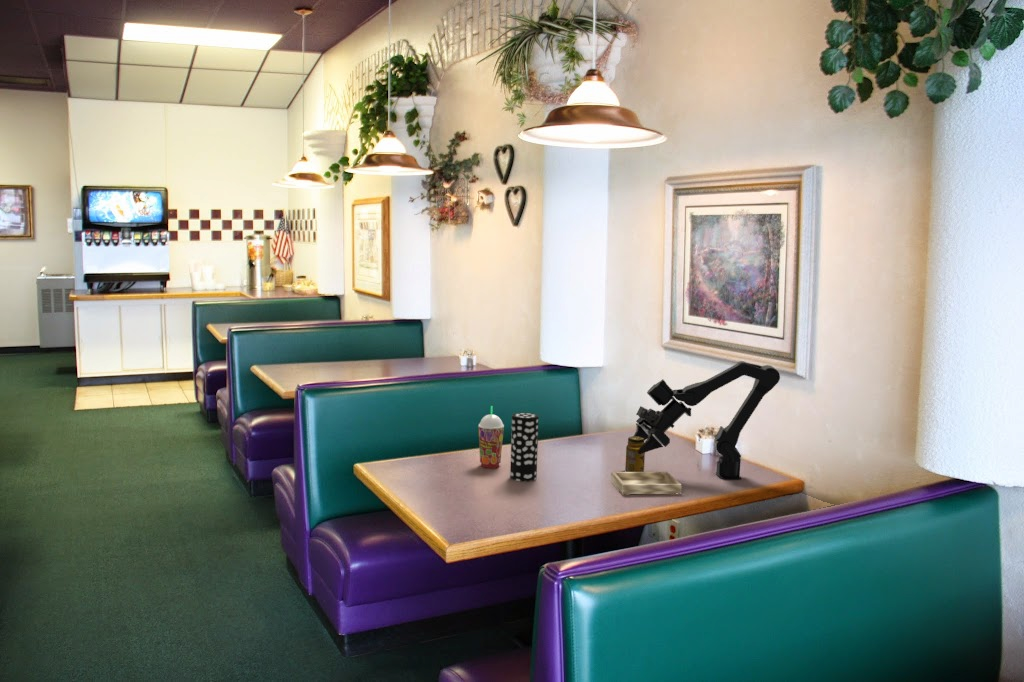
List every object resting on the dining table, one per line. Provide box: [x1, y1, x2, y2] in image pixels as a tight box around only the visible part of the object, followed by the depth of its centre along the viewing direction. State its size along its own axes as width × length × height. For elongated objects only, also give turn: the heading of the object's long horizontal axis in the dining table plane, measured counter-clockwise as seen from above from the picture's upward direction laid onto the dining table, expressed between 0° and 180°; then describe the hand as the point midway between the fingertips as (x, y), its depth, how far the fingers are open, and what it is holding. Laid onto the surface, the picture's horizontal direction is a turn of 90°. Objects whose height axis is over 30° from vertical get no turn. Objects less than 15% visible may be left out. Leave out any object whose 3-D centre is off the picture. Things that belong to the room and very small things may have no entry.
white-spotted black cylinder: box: [509, 412, 540, 482], centre depth 271 cm, size 8×8×20 cm
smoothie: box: [477, 405, 505, 469], centre depth 284 cm, size 8×8×20 cm
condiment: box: [619, 435, 646, 472], centre depth 280 cm, size 7×8×12 cm
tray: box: [610, 471, 682, 496], centre depth 266 cm, size 18×14×3 cm
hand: (633, 449), depth 280 cm, fingers open, 9 cm apart
